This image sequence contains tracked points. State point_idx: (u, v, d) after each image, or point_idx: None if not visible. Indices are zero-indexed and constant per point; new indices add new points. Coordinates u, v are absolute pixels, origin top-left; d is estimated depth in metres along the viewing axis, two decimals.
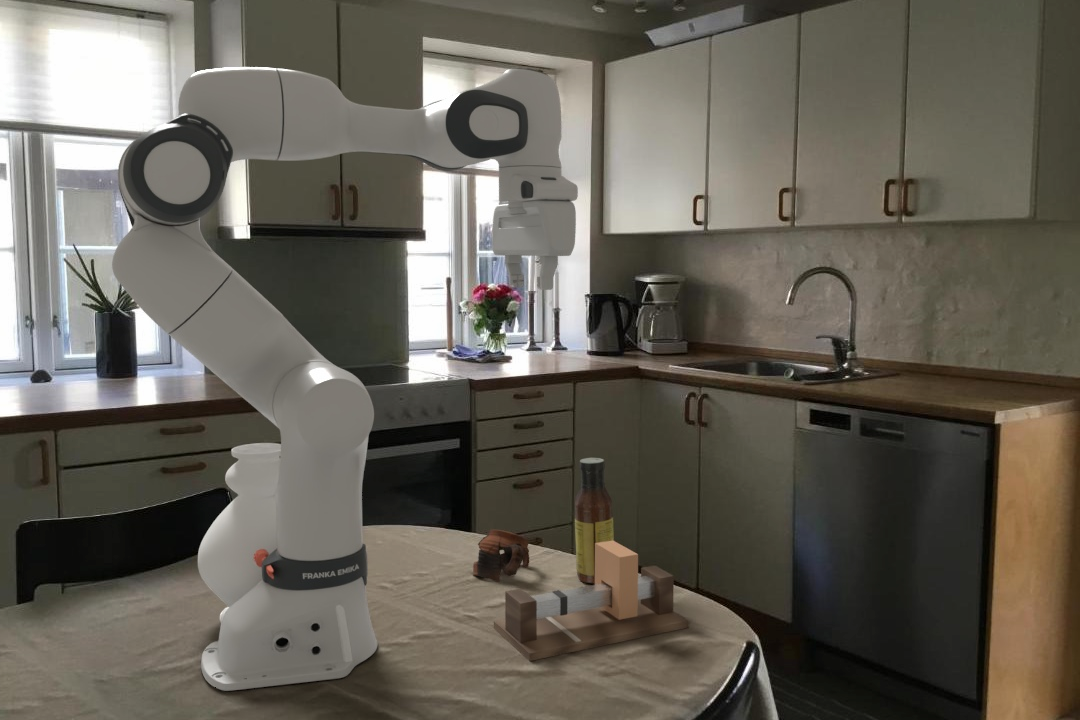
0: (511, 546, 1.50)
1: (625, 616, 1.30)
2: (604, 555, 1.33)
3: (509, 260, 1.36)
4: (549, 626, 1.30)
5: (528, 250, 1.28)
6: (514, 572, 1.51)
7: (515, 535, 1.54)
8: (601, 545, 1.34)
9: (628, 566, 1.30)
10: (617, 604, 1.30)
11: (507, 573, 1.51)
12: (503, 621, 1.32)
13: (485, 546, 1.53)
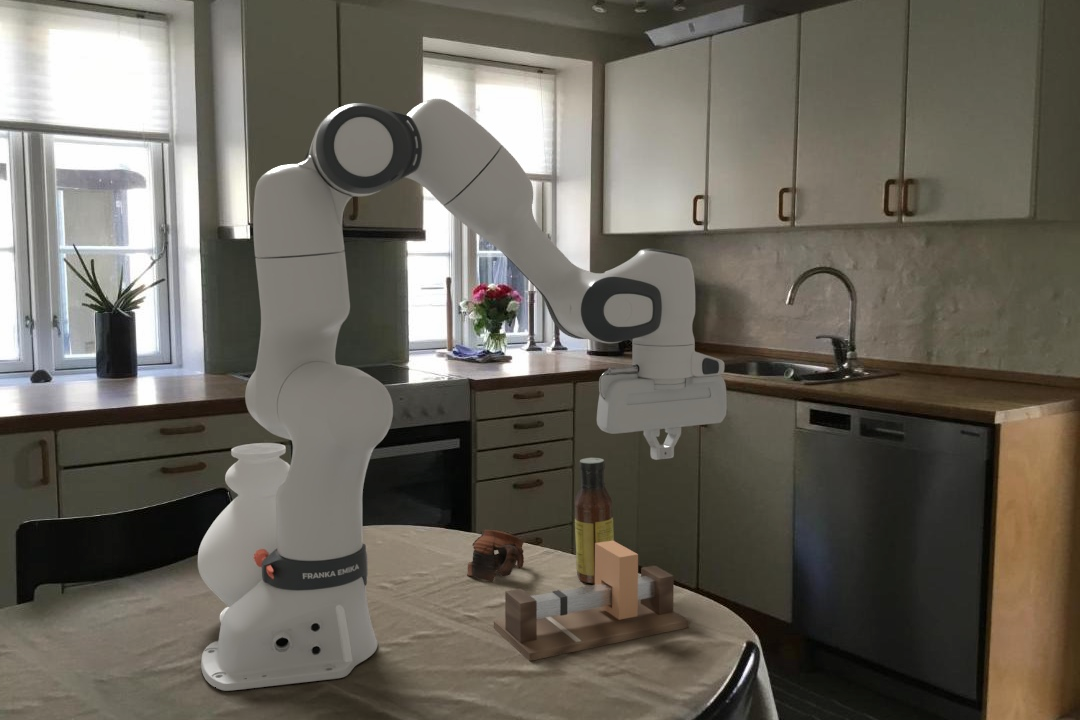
0: (506, 547, 1.50)
1: (625, 616, 1.30)
2: (604, 555, 1.33)
3: None
4: (549, 626, 1.30)
5: (689, 421, 1.34)
6: (509, 572, 1.51)
7: (509, 535, 1.54)
8: (601, 545, 1.34)
9: (628, 566, 1.30)
10: (617, 604, 1.30)
11: (502, 573, 1.51)
12: (503, 621, 1.32)
13: (479, 546, 1.53)
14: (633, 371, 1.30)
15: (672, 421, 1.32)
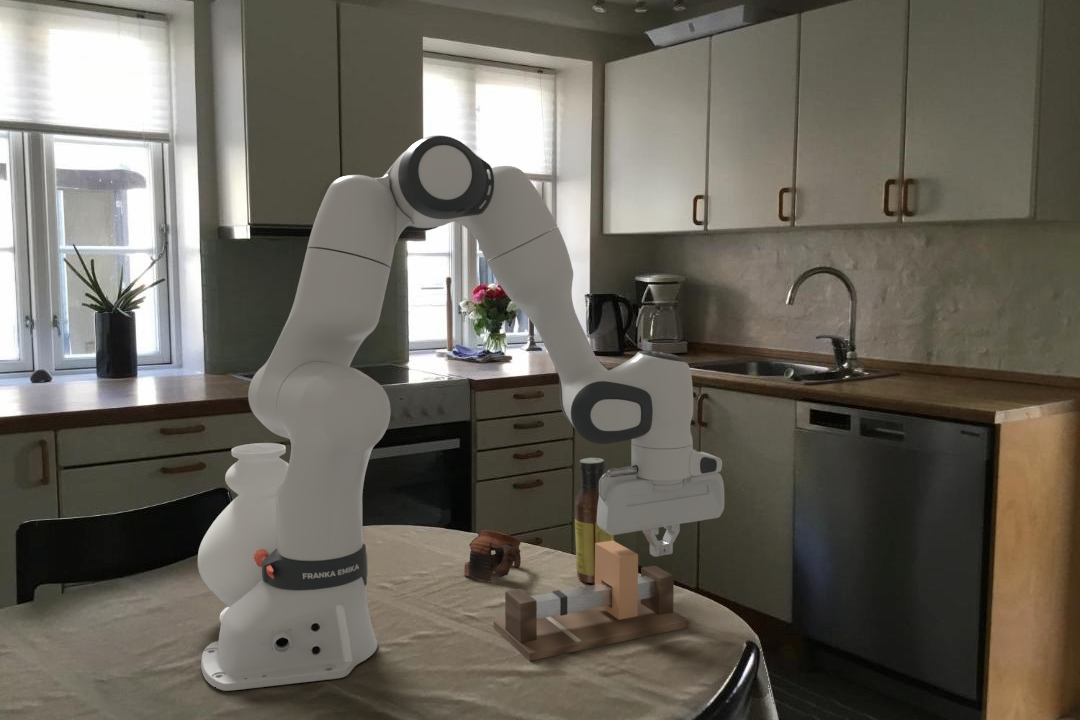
0: (503, 547, 1.50)
1: (625, 616, 1.30)
2: (604, 555, 1.33)
3: None
4: (549, 626, 1.30)
5: (687, 518, 1.36)
6: (506, 572, 1.51)
7: (506, 536, 1.53)
8: (601, 545, 1.34)
9: (628, 566, 1.30)
10: (617, 604, 1.30)
11: (498, 574, 1.50)
12: (503, 621, 1.32)
13: (476, 547, 1.52)
14: (632, 472, 1.32)
15: (671, 519, 1.34)
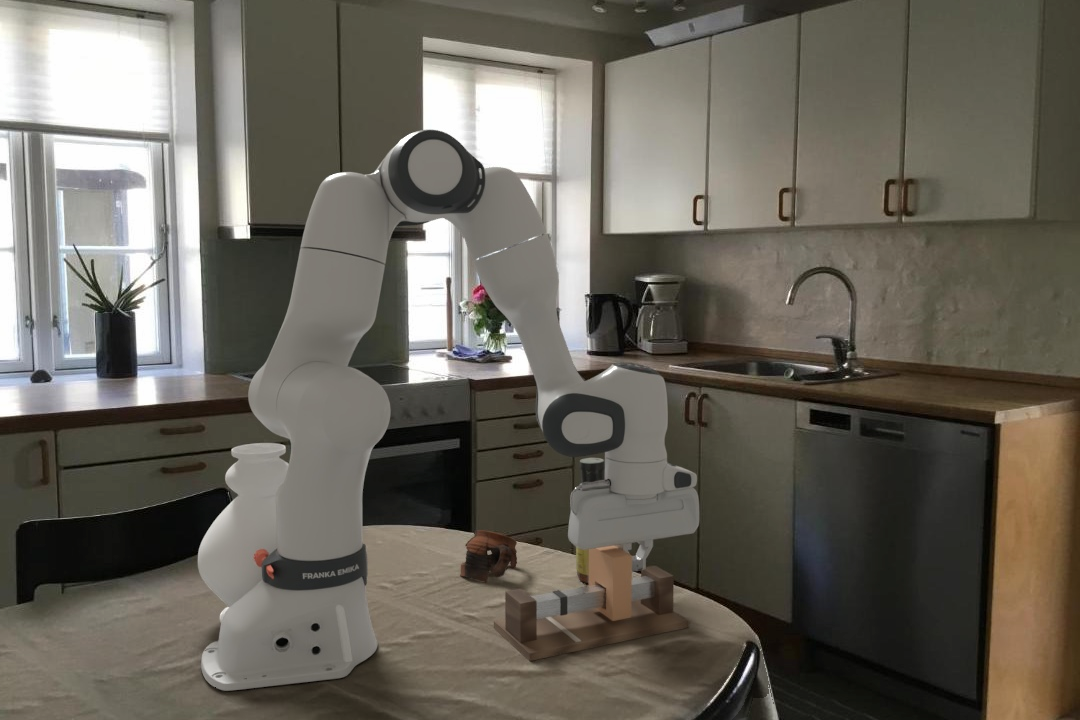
0: (499, 547, 1.50)
1: (619, 617, 1.30)
2: (597, 556, 1.32)
3: None
4: (549, 626, 1.30)
5: (661, 534, 1.34)
6: (502, 573, 1.51)
7: (503, 536, 1.53)
8: None
9: (622, 567, 1.29)
10: (610, 605, 1.30)
11: (495, 574, 1.50)
12: (503, 621, 1.32)
13: (473, 547, 1.52)
14: (605, 486, 1.30)
15: (644, 534, 1.32)
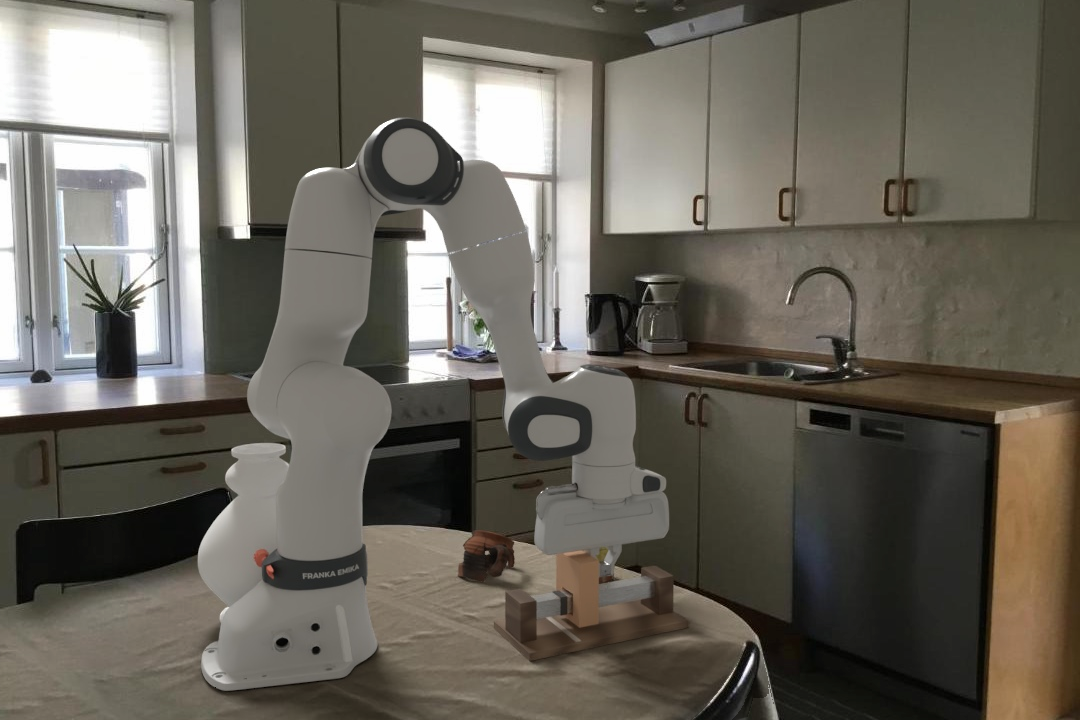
0: (497, 547, 1.50)
1: (586, 624, 1.28)
2: (564, 562, 1.30)
3: (598, 551, 1.30)
4: (549, 626, 1.30)
5: (629, 539, 1.31)
6: (500, 573, 1.51)
7: (500, 536, 1.53)
8: None
9: (588, 573, 1.27)
10: (577, 611, 1.28)
11: (492, 574, 1.50)
12: (503, 621, 1.32)
13: (470, 547, 1.52)
14: (571, 490, 1.28)
15: (612, 539, 1.30)
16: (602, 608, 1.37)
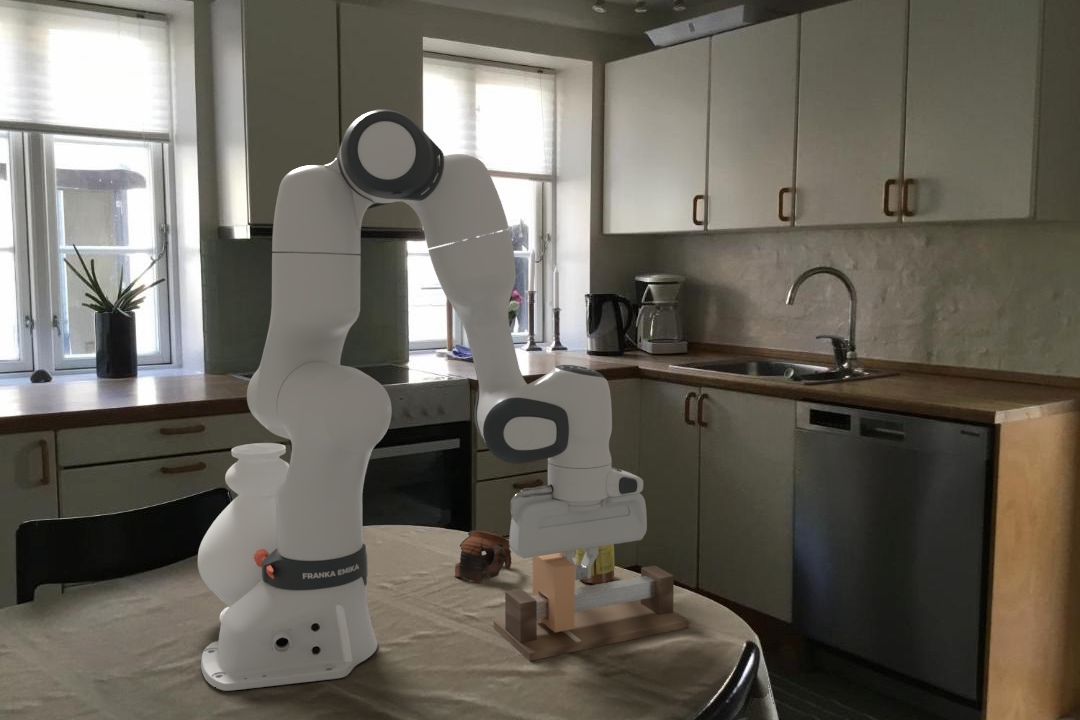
0: (494, 547, 1.50)
1: (561, 629, 1.26)
2: (540, 566, 1.29)
3: (574, 554, 1.29)
4: None
5: (606, 541, 1.30)
6: (497, 573, 1.51)
7: (497, 536, 1.53)
8: None
9: (564, 577, 1.25)
10: (552, 616, 1.26)
11: (489, 574, 1.50)
12: (503, 621, 1.32)
13: (467, 547, 1.52)
14: (547, 492, 1.26)
15: (588, 542, 1.28)
16: (602, 608, 1.37)
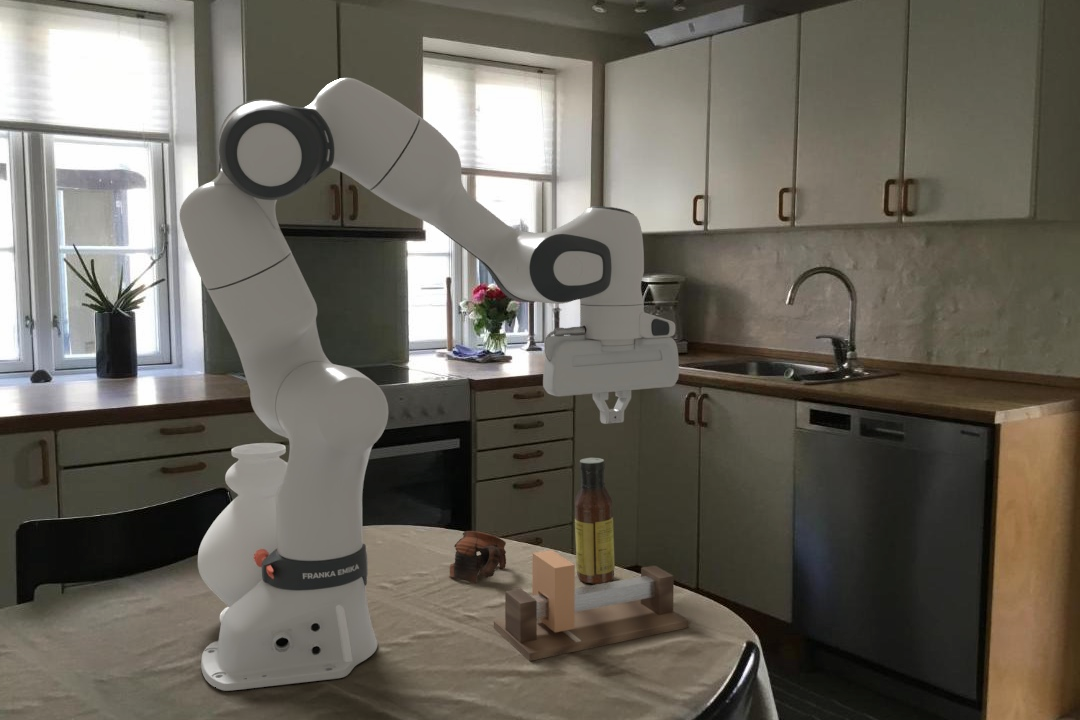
0: (488, 548, 1.50)
1: (561, 629, 1.26)
2: (540, 566, 1.29)
3: (607, 396, 1.29)
4: None
5: (639, 384, 1.30)
6: (491, 573, 1.50)
7: (492, 536, 1.53)
8: (538, 555, 1.30)
9: (564, 577, 1.25)
10: (552, 616, 1.26)
11: (484, 575, 1.50)
12: (503, 621, 1.32)
13: (462, 548, 1.52)
14: (580, 332, 1.27)
15: (621, 384, 1.29)
16: (602, 608, 1.37)
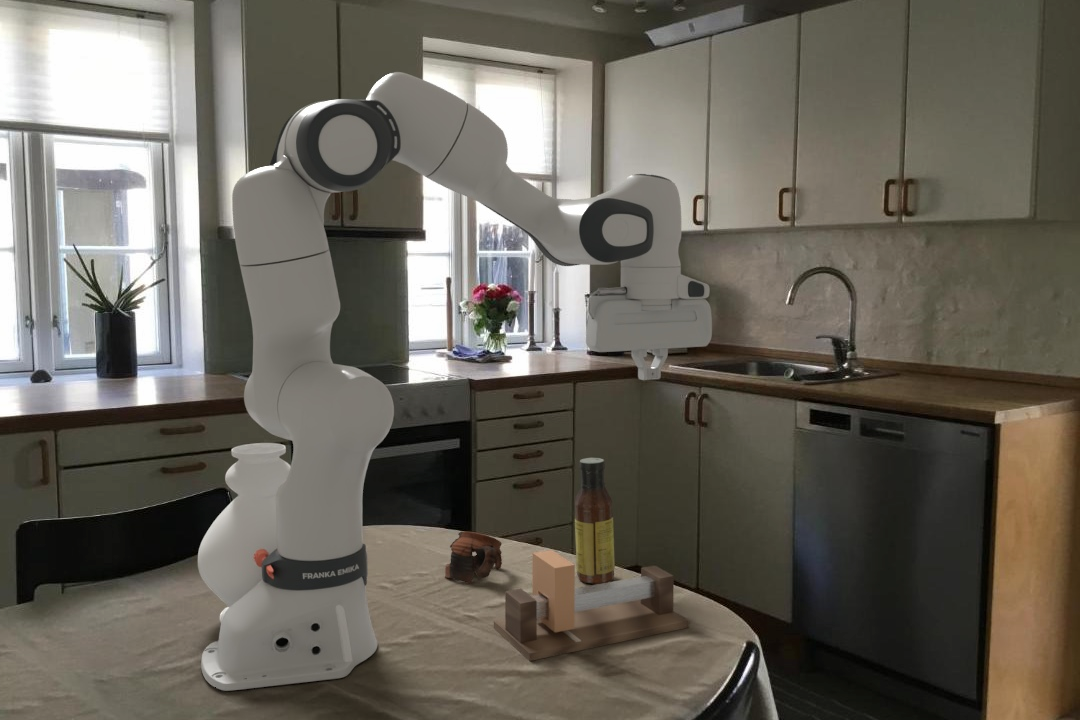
0: (484, 548, 1.49)
1: (561, 629, 1.26)
2: (540, 566, 1.29)
3: None
4: None
5: (675, 343, 1.38)
6: (487, 574, 1.50)
7: (487, 537, 1.53)
8: (538, 555, 1.30)
9: (564, 577, 1.25)
10: (552, 616, 1.26)
11: (480, 575, 1.50)
12: (503, 621, 1.32)
13: (457, 548, 1.52)
14: (621, 292, 1.35)
15: (659, 342, 1.37)
16: (602, 608, 1.37)
